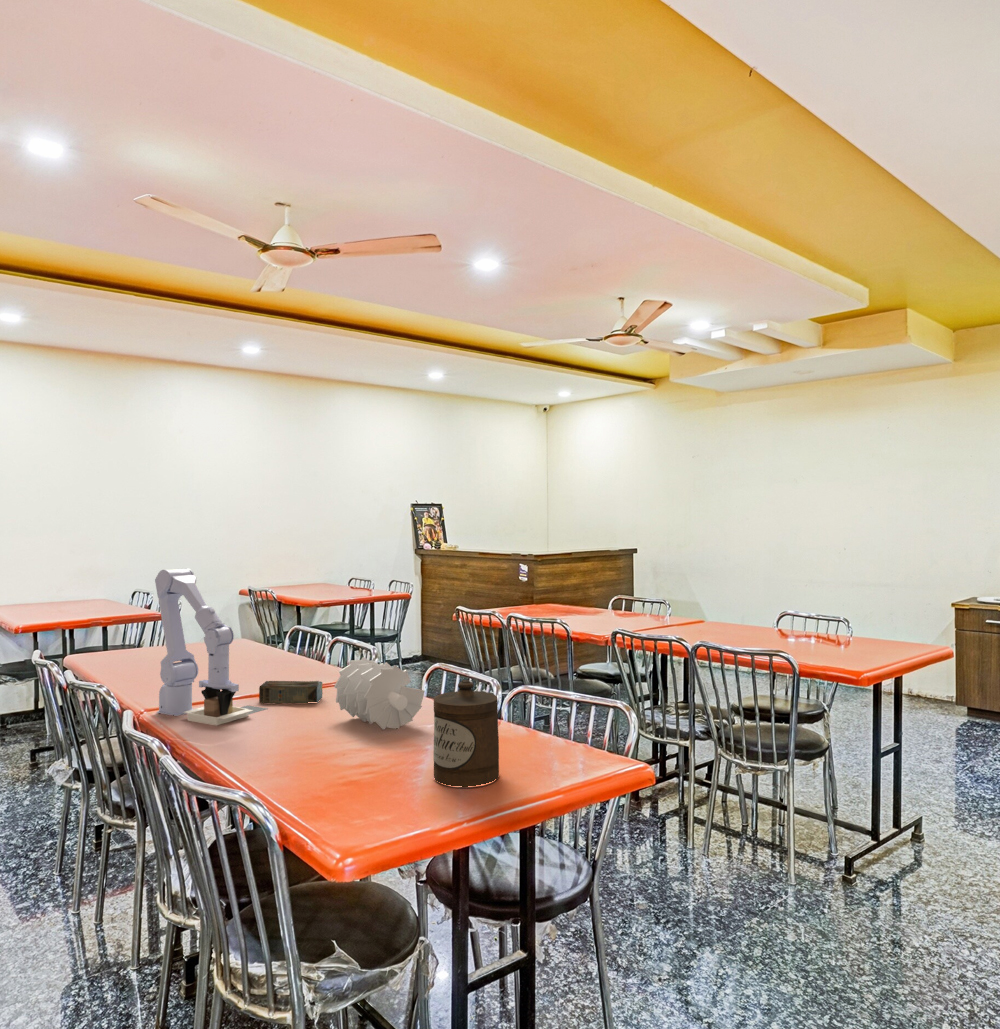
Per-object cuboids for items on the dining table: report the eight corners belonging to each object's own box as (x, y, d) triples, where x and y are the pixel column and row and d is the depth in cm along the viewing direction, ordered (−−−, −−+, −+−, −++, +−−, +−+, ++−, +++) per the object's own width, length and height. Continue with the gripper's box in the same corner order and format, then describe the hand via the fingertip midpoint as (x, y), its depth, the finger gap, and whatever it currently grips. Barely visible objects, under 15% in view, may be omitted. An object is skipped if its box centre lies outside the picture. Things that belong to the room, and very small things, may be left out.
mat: (225, 712, 228) (225, 711, 228) (247, 706, 236) (247, 705, 236) (246, 716, 223) (246, 715, 223) (268, 709, 231) (268, 708, 231)
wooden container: (420, 777, 169) (420, 680, 169) (468, 763, 179) (468, 671, 179) (463, 794, 158) (463, 690, 158) (512, 777, 168) (512, 680, 169)
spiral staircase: (386, 748, 204) (342, 725, 223) (434, 711, 214) (389, 692, 233) (362, 693, 199) (320, 674, 218) (413, 658, 209) (368, 643, 228)
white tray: (181, 720, 218) (181, 712, 218) (214, 711, 229) (214, 703, 229) (222, 727, 211) (222, 719, 211) (254, 718, 221) (254, 709, 221)
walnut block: (213, 721, 216) (213, 700, 216) (204, 720, 218) (204, 699, 218) (232, 716, 222) (232, 696, 222) (223, 714, 224) (223, 694, 224)
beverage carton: (317, 704, 239) (317, 684, 239) (257, 705, 239) (257, 684, 239) (323, 699, 247) (323, 679, 247) (265, 699, 247) (265, 679, 247)
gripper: (246, 667, 220) (246, 713, 220) (212, 663, 227) (212, 708, 227) (228, 671, 214) (227, 718, 214) (193, 667, 221) (192, 713, 221)
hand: (218, 713), depth 220 cm, fingers closed on walnut block, 4 cm apart
